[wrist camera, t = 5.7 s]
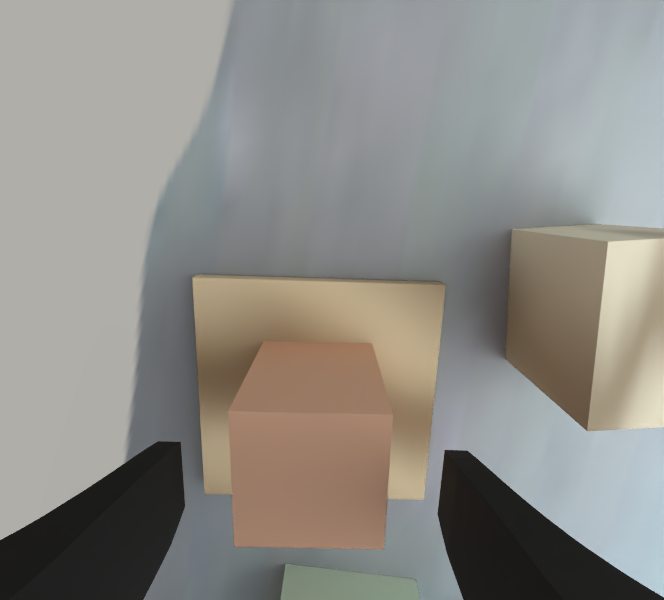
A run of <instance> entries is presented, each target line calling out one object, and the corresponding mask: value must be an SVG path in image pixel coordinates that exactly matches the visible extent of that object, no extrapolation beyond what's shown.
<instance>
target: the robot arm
mask: <svg viewBox="0 0 664 600" xmlns="http://www.w3.org/2000/svg"><path fill="white" fill-rule="evenodd" d="M184 507H185V500H184V485H183V471H182V456H181V442H160V441H158V442H157V443H155V444H153V445H152V446H150V447H148V448H147V449H145V450H144V451H142V452H141V453H139V454H138V455H136V456H135V457H133V458H132V459H131V460H129V461H128V462H126V463H125V464H123V465H122V466H120V467H119V468H117V469H116V470H115V471H113V472H112V473H110V474H108V475H107V476H105V477H104V478H103V479H101V480H100V481H98V482H97V483H95V484H94V485H92V486H91V487H89V488H88V489H86V490H84V491H83V492H81V493H80V494H78V495H76V496H75V497H73V498H72V499H70V500H68V501H67V502H65V503H64V504H62V505H60V506H59V507H57V508H56V509H54V510H52V511H51V512H49V513H48V514H46V515H45V516H43V517H41V518H40V519H38V520H36V521H34V522H32V523H31V524H29V525H27V526H26V527H24V528H22V529H20V530H18V531H16V532H15V533H13V534H11V535H9V536H7V537H5V538H4V539H2V540H0V600H143V599H144V597H145V595H146V593H147V591H148V589H149V587H150V586H151V584H152V582H153V580H154V578H155V576H156V574H157V572H158V570H159V568H160V566H161V564H162V562H163V560H164V558H165V556H166V554H167V552H168V550H169V547H170V545H171V543H172V540H173V538H174V535H175V532H176V530H177V527H178V524H179V522H180V519H181V516H182V513H183V510H184ZM438 517H439V521H440V526H441V530H442V535H443V539H444V543H445V547H446V551H447V554H448V557H449V560H450V563H451V566H452V569H453V571H454V574H455V577H456V580H457V583H458V585H459V588H460V591H461V594H462V597H463V599H464V600H664V597H662V596H660V595H659V594H657V593H655V592H654V591H652V590H650V589H649V588H647V587H645V586H644V585H642V584H640V583H639V582H637V581H635V580H634V579H632V578H631V577H629V576H628V575H626V574H624V573H623V572H621V571H620V570H618V569H617V568H615V567H614V566H612V565H611V564H609V563H608V562H606V561H605V560H603V559H602V558H601V557H599V556H598V555H596V554H595V553H593V552H592V551H590V550H589V549H587V548H586V547H584V546H583V545H582V544H580V543H579V542H578V541H576V540H575V539H573V538H572V537H571V536H569V535H568V534H567V533H565V532H564V531H563V530H562V529H560V528H559V527H558V526H556V525H555V524H554V523H552V522H551V521H550V520H548V519H547V518H546V517H545V516H543V515H542V514H541V513H540V512H538V511H537V510H536V509H535V508H533V507H532V506H531V505H530V504H529V503H527V502H526V501H525V500H524V499H523V498H521V497H520V496H519V495H518V494H517V493H516V492H514V491H513V490H512V489H511V488H510V487H509V486H507V485H506V484H505V483H504V482H503V481H502V480H501V479H499V478H498V477H497V476H496V475H495V474H494V473H493V472H492V471H490V470H489V469H488V468H487V467H486V466H485V465H484V464H482V463H481V462H480V461H479V460H478V459H477V458H476V457H474V456H473V455H472V454H471V453H469V452H468V451H458V450H445V454H444V463H443V471H442V480H441V489H440V498H439V507H438Z"/></svg>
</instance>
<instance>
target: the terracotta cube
mask: <svg viewBox="0 0 664 600" xmlns="http://www.w3.org/2000/svg"><path fill="white" fill-rule="evenodd" d="M228 421H229V443H230V465H231V487H232V509H233V531H234V547H283V548H335V549H384V543H385V528H386V513H387V498H388V483H389V468H390V454H391V439H392V424H393V413H392V409H391V406H390V402H389V399H388V395H387V392H386V389H385V385H384V382H383V378H382V375H381V371H380V368H379V365H378V361H377V358H376V354H375V351H374V347H373V344H372V343H337V342H292V341H264V342H263V344H262V346H261V348H260V349H259V351H258V353H257V355H256V357H255V359H254V361H253V363H252V365H251V367H250V369H249V371H248V373H247V375H246V377H245V379H244V381H243V383H242V385H241V387H240V389H239V391H238V393H237V395H236V397H235V399H234V400H233V402H232V404H231V406H230V408H229V410H228Z"/></svg>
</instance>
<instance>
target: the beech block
mask: <svg viewBox="0 0 664 600" xmlns="http://www.w3.org/2000/svg"><path fill="white" fill-rule="evenodd" d="M505 359H506V360H507V361H508V362H510V363H511V364H512V365H513V366H514V367H515V368H516V369H517V370H519V371H520V372H521V373H522V374H523V375H524V376H525V377H527V378H528V379H529V380H530V381H531V382H532V383H533V384H534V385H536V386H537V387H538V388H539V389H540V390H541V391H542V392H544V393H545V394H546V395H547V396H548V397H549V398H550V399H551V400H553V401H554V402H555V403H556V404H557V405H558V406H559V407H561V408H562V409H563V410H564V411H565V412H566V413H567V414H568V415H570V416H571V417H572V418H573V419H574V420H575V421H576V422H578V423H579V424H580V425H581V426H582V427H583V428H584V429H585V430H587V431H597V430H616V429H635V428H654V427H664V229H659V228H645V227H631V226H616V225H602V224H589V225H573V226H556V227H540V228H523V229H512V236H511V256H510V275H509V295H508V315H507V335H506V355H505Z"/></svg>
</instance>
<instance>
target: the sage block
mask: <svg viewBox="0 0 664 600" xmlns="http://www.w3.org/2000/svg"><path fill="white" fill-rule="evenodd" d="M280 600H420V596H419V592H418V587H417V583H416V579H409V578H401V577H393V576H384V575H376V574H367V573H359V572H351V571H342V570H334V569H326V568H317V567H309V566H301V565H292V564H285V570H284V577H283V584H282V591H281V598H280Z"/></svg>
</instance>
